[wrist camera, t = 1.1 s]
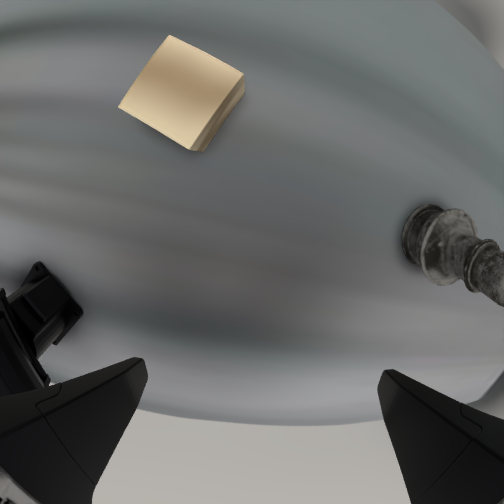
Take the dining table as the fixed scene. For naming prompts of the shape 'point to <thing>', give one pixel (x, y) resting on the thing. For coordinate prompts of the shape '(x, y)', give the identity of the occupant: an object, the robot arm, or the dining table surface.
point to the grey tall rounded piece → (454, 251)
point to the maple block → (184, 94)
